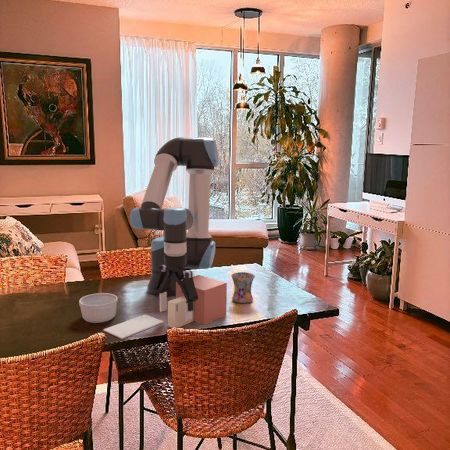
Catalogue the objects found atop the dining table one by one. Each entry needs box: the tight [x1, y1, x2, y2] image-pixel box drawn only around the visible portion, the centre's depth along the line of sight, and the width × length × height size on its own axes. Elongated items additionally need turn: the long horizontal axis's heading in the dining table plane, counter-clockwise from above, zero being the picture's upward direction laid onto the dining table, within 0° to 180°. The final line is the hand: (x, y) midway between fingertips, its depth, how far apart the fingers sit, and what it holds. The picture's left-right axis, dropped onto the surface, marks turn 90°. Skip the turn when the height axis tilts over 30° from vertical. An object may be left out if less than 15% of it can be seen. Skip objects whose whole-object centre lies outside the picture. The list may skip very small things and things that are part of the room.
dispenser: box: [175, 274, 228, 326], centre depth 164 cm, size 14×13×12 cm
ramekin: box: [78, 292, 118, 324], centre depth 161 cm, size 13×13×7 cm
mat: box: [103, 314, 165, 340], centre depth 154 cm, size 10×18×1 cm, turn 140°
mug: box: [230, 271, 256, 304], centre depth 181 cm, size 12×9×11 cm
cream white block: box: [167, 296, 195, 329], centre depth 158 cm, size 4×14×9 cm, turn 140°
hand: (175, 315), depth 155 cm, fingers open, 12 cm apart
